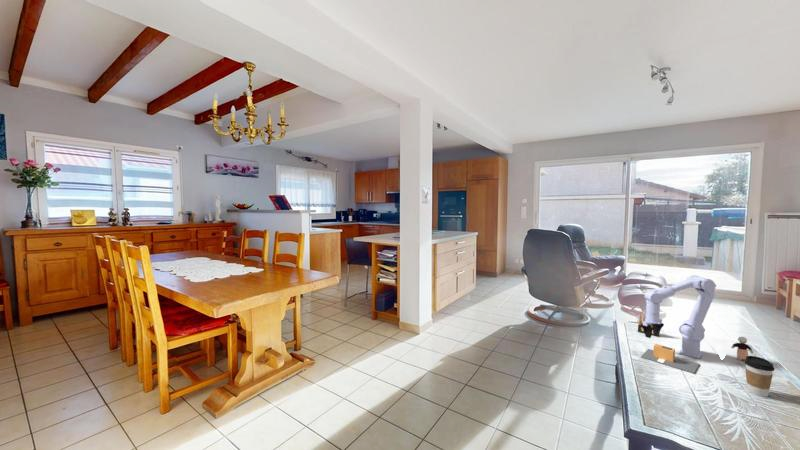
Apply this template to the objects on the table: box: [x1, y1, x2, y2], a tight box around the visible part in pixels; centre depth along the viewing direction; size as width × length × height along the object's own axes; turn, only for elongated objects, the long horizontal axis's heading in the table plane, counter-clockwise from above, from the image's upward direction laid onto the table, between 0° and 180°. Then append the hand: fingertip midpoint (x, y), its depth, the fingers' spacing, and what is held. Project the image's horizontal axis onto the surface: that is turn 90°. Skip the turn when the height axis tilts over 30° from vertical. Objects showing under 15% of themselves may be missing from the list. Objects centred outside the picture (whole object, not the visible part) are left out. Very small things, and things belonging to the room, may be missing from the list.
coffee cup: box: [743, 355, 775, 398], centre depth 130 cm, size 8×8×15 cm
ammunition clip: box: [637, 314, 660, 338], centre depth 192 cm, size 11×2×12 cm, turn 38°
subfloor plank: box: [640, 348, 700, 375], centre depth 158 cm, size 14×21×1 cm, turn 37°
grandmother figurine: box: [730, 336, 754, 362], centre depth 158 cm, size 8×4×13 cm, turn 54°
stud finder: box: [653, 343, 676, 362], centre depth 160 cm, size 4×8×6 cm, turn 37°
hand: (652, 336), depth 168 cm, fingers open, 7 cm apart
